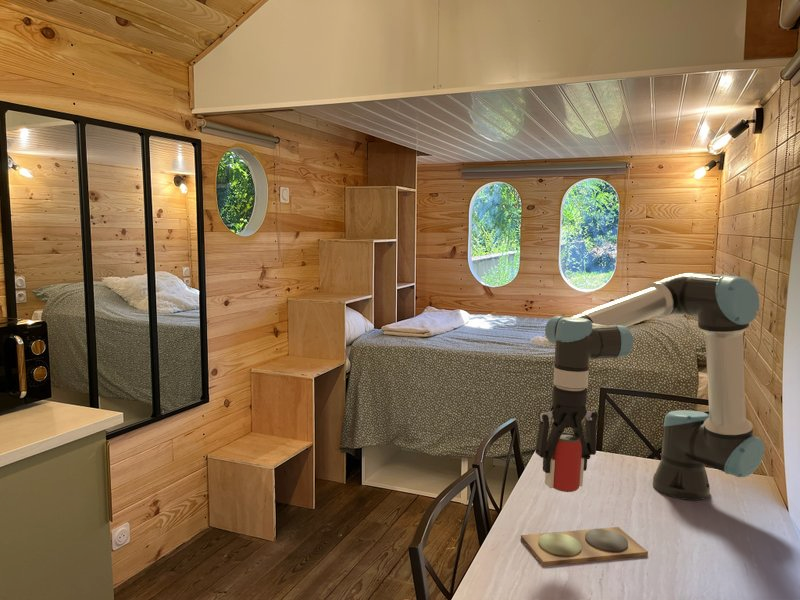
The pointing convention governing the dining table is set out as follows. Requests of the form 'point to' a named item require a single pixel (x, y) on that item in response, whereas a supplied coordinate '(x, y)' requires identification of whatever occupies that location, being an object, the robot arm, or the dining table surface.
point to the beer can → (567, 463)
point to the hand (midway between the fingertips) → (563, 484)
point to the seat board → (582, 546)
